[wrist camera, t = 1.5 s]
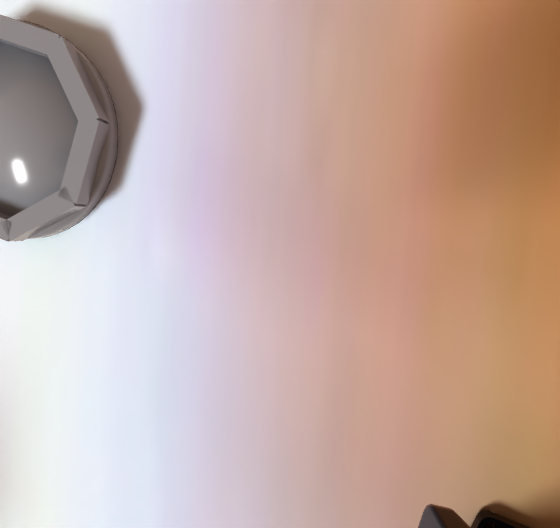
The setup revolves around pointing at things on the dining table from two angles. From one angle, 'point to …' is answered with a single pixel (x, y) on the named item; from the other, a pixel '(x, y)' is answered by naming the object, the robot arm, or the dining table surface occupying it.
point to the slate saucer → (50, 132)
